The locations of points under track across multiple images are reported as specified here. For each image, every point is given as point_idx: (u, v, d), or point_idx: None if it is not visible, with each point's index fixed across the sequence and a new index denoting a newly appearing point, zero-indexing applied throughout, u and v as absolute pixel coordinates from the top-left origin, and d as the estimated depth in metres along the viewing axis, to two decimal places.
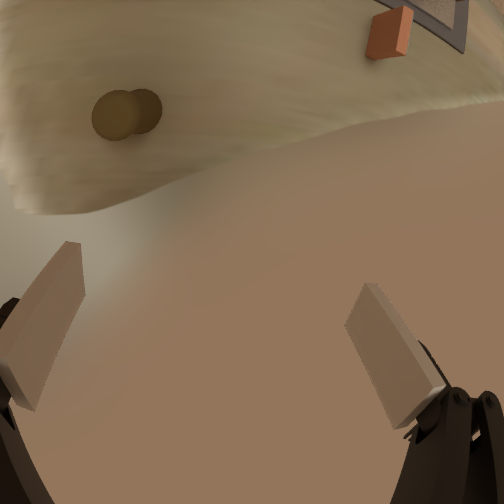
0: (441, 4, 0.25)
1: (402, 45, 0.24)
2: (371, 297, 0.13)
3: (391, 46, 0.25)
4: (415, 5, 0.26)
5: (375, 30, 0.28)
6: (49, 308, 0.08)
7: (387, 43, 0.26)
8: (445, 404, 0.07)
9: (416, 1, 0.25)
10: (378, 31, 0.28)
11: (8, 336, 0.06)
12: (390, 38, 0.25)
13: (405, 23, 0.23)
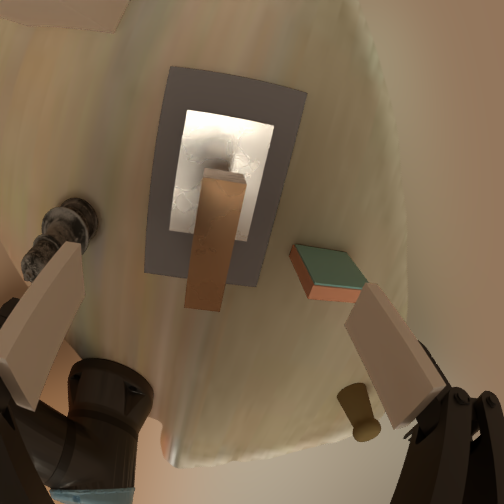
0: (228, 148, 0.26)
1: None
2: (371, 297, 0.13)
3: None
4: None
5: None
6: (49, 308, 0.08)
7: None
8: (445, 404, 0.07)
9: (247, 202, 0.29)
10: None
11: (8, 336, 0.06)
12: None
13: (335, 295, 0.27)
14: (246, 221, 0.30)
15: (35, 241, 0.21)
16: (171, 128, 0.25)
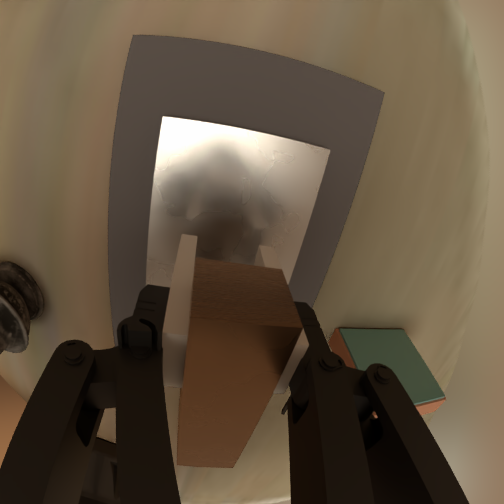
0: (243, 191, 0.14)
1: (431, 407, 0.16)
2: (261, 258, 0.14)
3: None
4: (286, 281, 0.17)
5: None
6: None
7: None
8: (310, 375, 0.08)
9: None
10: None
11: (179, 315, 0.09)
12: None
13: None
14: None
15: None
16: (135, 151, 0.13)
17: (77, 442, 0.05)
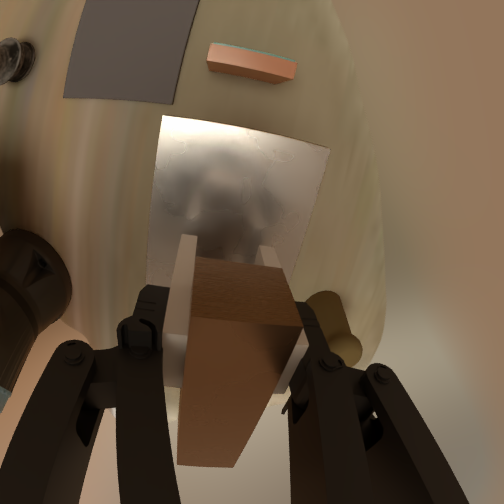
0: (243, 190, 0.14)
1: (282, 67, 0.20)
2: (261, 258, 0.14)
3: (282, 78, 0.21)
4: (287, 280, 0.17)
5: (236, 74, 0.25)
6: None
7: (272, 77, 0.22)
8: (310, 375, 0.08)
9: None
10: (241, 74, 0.25)
11: (179, 316, 0.09)
12: (265, 74, 0.22)
13: (241, 59, 0.19)
14: None
15: None
16: None
17: (77, 442, 0.05)
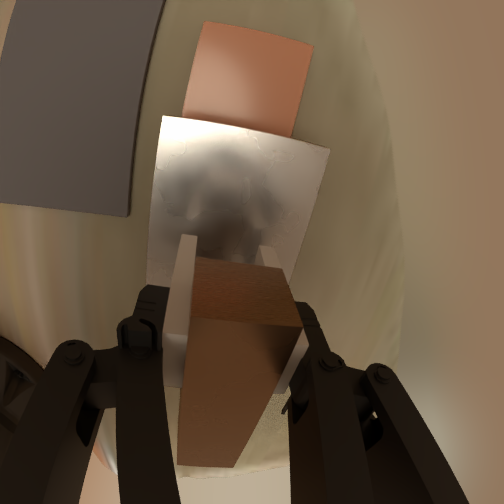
0: (243, 190, 0.14)
1: None
2: (261, 258, 0.14)
3: (299, 58, 0.15)
4: (286, 281, 0.17)
5: (226, 123, 0.17)
6: None
7: (286, 72, 0.16)
8: (310, 375, 0.08)
9: None
10: (235, 110, 0.17)
11: (179, 316, 0.09)
12: (277, 62, 0.15)
13: None
14: None
15: None
16: (23, 9, 0.10)
17: (77, 442, 0.05)
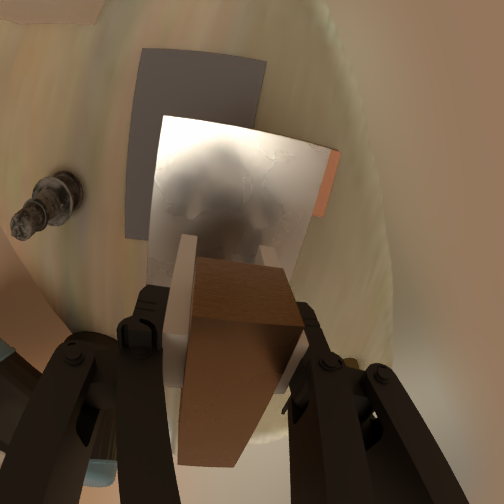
0: (244, 190, 0.14)
1: None
2: (260, 258, 0.14)
3: (333, 161, 0.31)
4: (287, 280, 0.17)
5: None
6: None
7: None
8: (310, 375, 0.08)
9: None
10: None
11: (179, 316, 0.09)
12: None
13: None
14: None
15: (24, 205, 0.23)
16: (144, 101, 0.26)
17: (77, 442, 0.05)
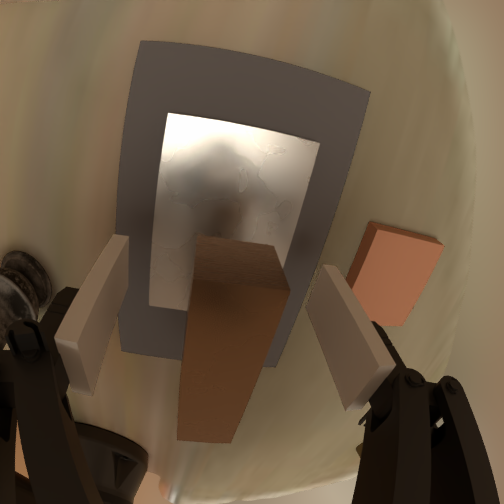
0: (240, 180, 0.15)
1: (430, 239, 0.20)
2: (327, 277, 0.13)
3: (433, 258, 0.20)
4: (281, 265, 0.19)
5: (373, 310, 0.21)
6: (107, 296, 0.10)
7: (422, 269, 0.20)
8: (396, 388, 0.08)
9: None
10: (381, 301, 0.21)
11: (76, 321, 0.07)
12: (419, 263, 0.20)
13: (402, 232, 0.19)
14: None
15: None
16: (143, 146, 0.15)
17: None
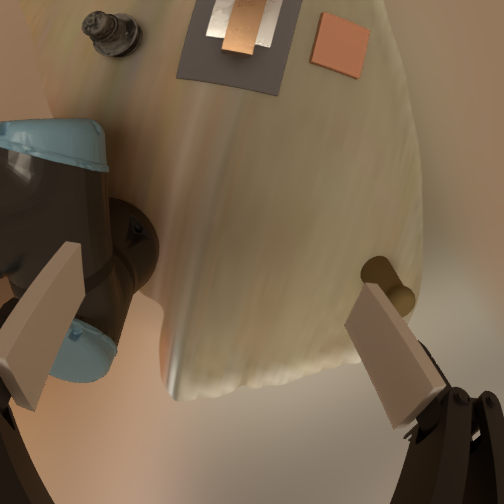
0: None
1: None
2: (371, 297, 0.13)
3: (364, 35, 0.29)
4: (276, 20, 0.28)
5: (334, 58, 0.31)
6: (49, 308, 0.08)
7: (359, 40, 0.30)
8: (445, 404, 0.07)
9: (270, 19, 0.28)
10: (338, 53, 0.31)
11: (8, 336, 0.06)
12: (355, 35, 0.29)
13: None
14: (270, 32, 0.29)
15: None
16: None
17: None
